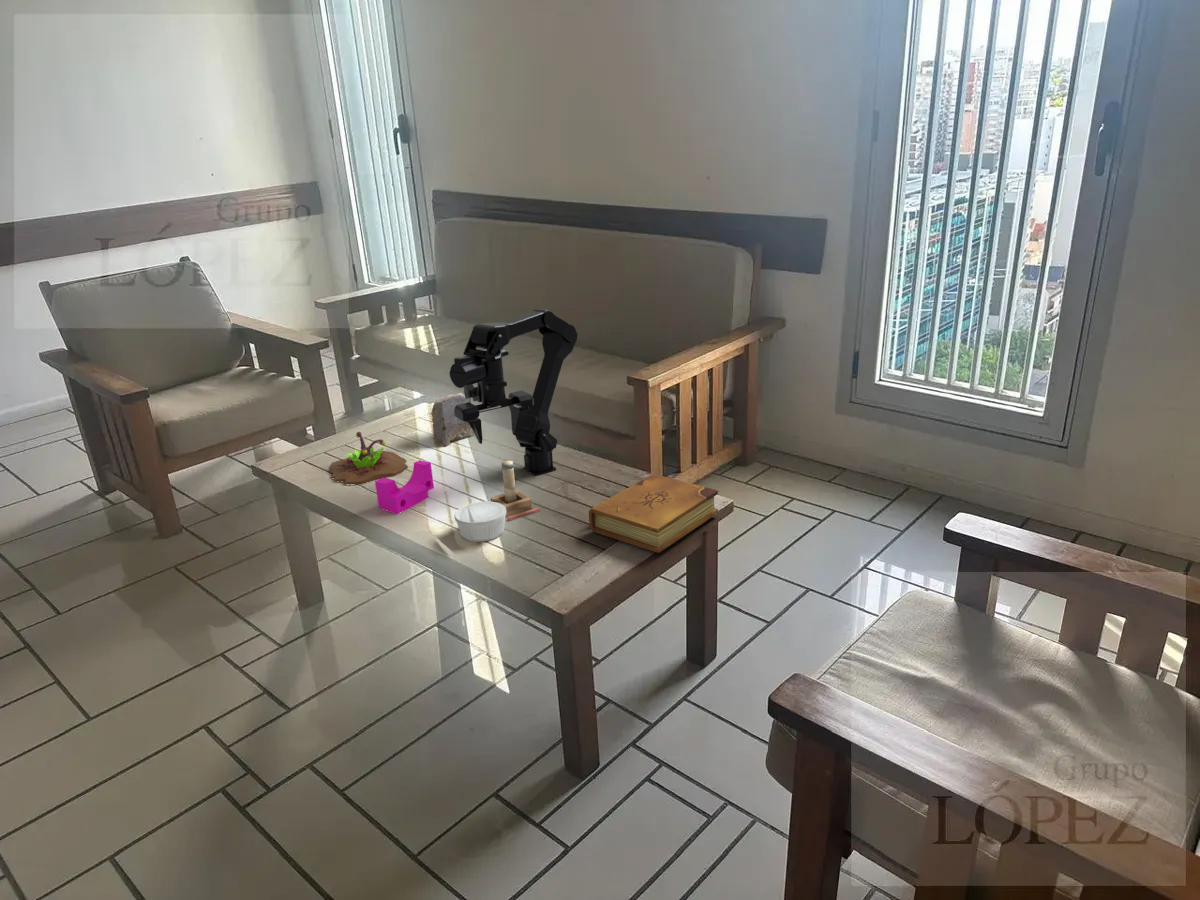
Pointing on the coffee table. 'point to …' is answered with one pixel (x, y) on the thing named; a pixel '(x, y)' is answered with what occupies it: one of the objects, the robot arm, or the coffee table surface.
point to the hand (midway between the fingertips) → (497, 439)
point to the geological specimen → (449, 420)
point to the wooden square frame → (516, 505)
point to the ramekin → (481, 521)
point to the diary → (654, 512)
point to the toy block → (405, 489)
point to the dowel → (509, 481)
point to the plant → (367, 464)
